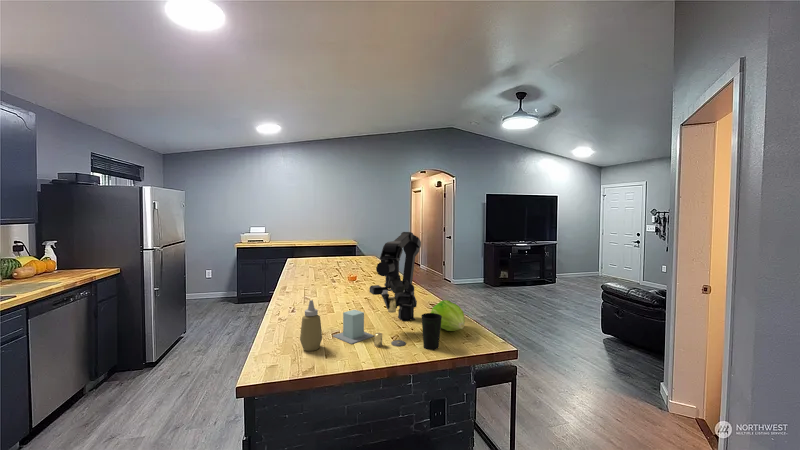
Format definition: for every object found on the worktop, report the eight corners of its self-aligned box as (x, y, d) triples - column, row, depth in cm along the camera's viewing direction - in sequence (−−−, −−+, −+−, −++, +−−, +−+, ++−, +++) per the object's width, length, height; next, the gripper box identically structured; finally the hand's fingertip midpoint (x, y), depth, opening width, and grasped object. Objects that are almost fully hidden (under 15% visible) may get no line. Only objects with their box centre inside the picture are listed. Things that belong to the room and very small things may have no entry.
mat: (355, 329, 149) (355, 328, 149) (374, 336, 141) (374, 335, 141) (332, 336, 141) (332, 335, 141) (351, 344, 132) (351, 343, 132)
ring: (402, 340, 138) (402, 339, 138) (408, 345, 132) (408, 344, 132) (389, 342, 135) (389, 341, 135) (394, 347, 130) (394, 346, 130)
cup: (443, 344, 133) (443, 314, 133) (438, 352, 126) (439, 320, 125) (423, 342, 135) (424, 312, 135) (418, 349, 128) (419, 317, 128)
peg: (394, 310, 150) (394, 296, 149) (397, 312, 146) (397, 298, 146) (386, 310, 148) (386, 297, 148) (389, 313, 145) (389, 298, 145)
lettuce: (444, 341, 136) (445, 311, 136) (426, 325, 156) (427, 299, 155) (476, 338, 140) (476, 309, 140) (454, 323, 160) (455, 297, 159)
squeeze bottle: (310, 354, 123) (310, 304, 122) (295, 349, 127) (295, 301, 126) (326, 347, 129) (327, 299, 129) (311, 342, 134) (311, 296, 133)
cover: (354, 331, 145) (354, 309, 145) (363, 335, 141) (364, 312, 141) (343, 335, 141) (343, 312, 140) (352, 339, 137) (352, 315, 136)
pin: (380, 343, 134) (380, 332, 133) (383, 346, 131) (383, 334, 131) (373, 344, 132) (373, 333, 132) (375, 347, 130) (376, 335, 129)
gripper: (378, 276, 136) (377, 316, 136) (420, 274, 143) (419, 311, 144) (369, 272, 146) (368, 308, 146) (409, 270, 153) (408, 304, 154)
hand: (391, 308), depth 147 cm, fingers closed on peg, 3 cm apart
